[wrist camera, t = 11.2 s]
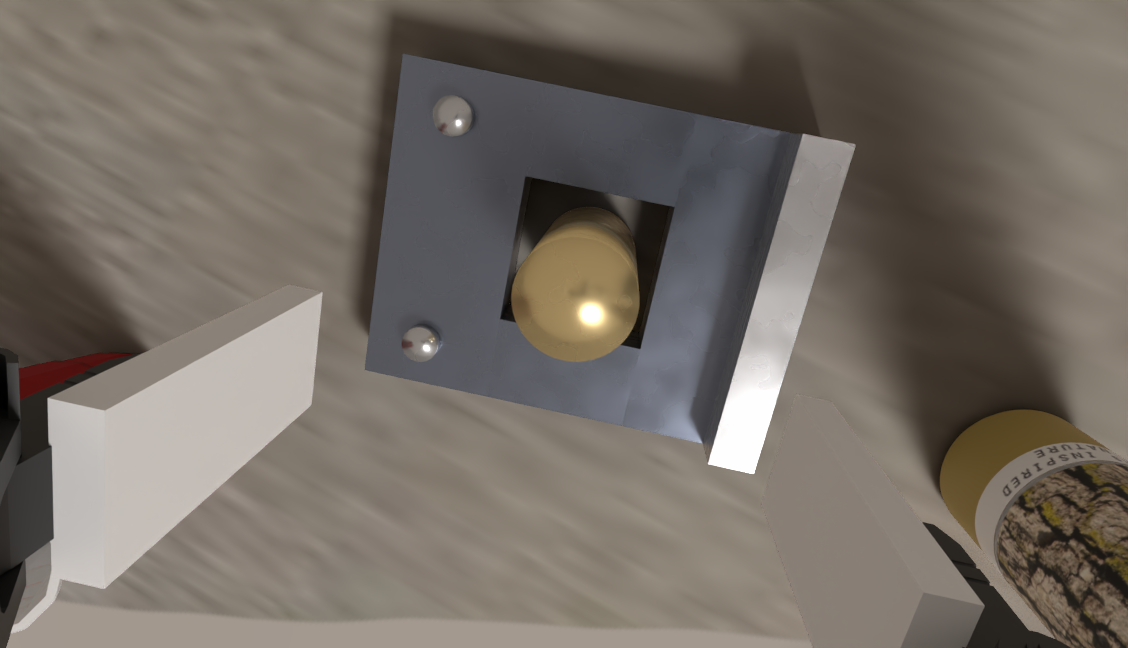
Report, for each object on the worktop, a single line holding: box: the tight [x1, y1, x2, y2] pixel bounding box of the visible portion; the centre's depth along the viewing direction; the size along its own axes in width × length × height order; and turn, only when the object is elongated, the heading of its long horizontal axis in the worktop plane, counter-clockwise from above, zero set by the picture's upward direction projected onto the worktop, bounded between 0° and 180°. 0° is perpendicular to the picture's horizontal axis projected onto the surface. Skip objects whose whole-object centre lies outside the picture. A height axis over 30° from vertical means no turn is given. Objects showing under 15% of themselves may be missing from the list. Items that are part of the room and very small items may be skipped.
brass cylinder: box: [511, 207, 639, 362], centre depth 28 cm, size 4×4×9 cm
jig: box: [365, 54, 856, 474], centre depth 30 cm, size 18×14×4 cm
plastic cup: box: [11, 353, 132, 633], centre depth 31 cm, size 11×11×12 cm
